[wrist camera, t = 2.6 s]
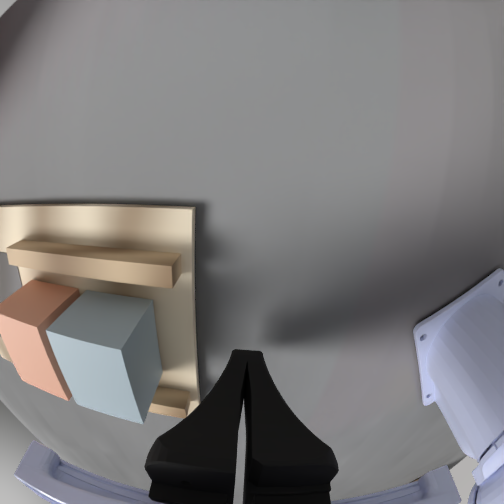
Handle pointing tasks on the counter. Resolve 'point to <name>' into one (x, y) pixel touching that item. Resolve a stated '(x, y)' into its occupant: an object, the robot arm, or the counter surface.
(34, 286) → the terracotta block
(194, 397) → the maple chute
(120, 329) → the grey-blue block
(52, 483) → the robot arm
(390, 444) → the counter surface
